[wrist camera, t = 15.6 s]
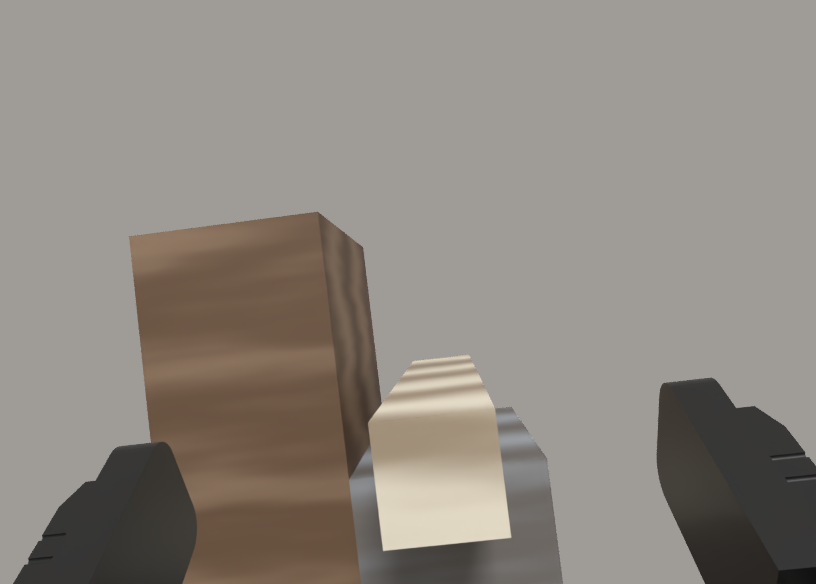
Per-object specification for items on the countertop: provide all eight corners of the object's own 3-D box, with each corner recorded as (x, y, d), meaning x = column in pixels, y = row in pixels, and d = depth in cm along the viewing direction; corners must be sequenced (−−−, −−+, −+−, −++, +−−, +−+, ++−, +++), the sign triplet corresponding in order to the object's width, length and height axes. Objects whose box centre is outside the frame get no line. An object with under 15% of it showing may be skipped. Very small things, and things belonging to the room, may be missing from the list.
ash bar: (511, 538, 18) (495, 408, 18) (383, 550, 18) (367, 422, 19) (475, 410, 42) (469, 354, 42) (420, 417, 42) (413, 361, 43)
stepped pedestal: (616, 1002, 26) (512, 186, 27) (212, 1028, 27) (128, 236, 28) (555, 752, 41) (489, 231, 42) (296, 774, 42) (239, 263, 43)
